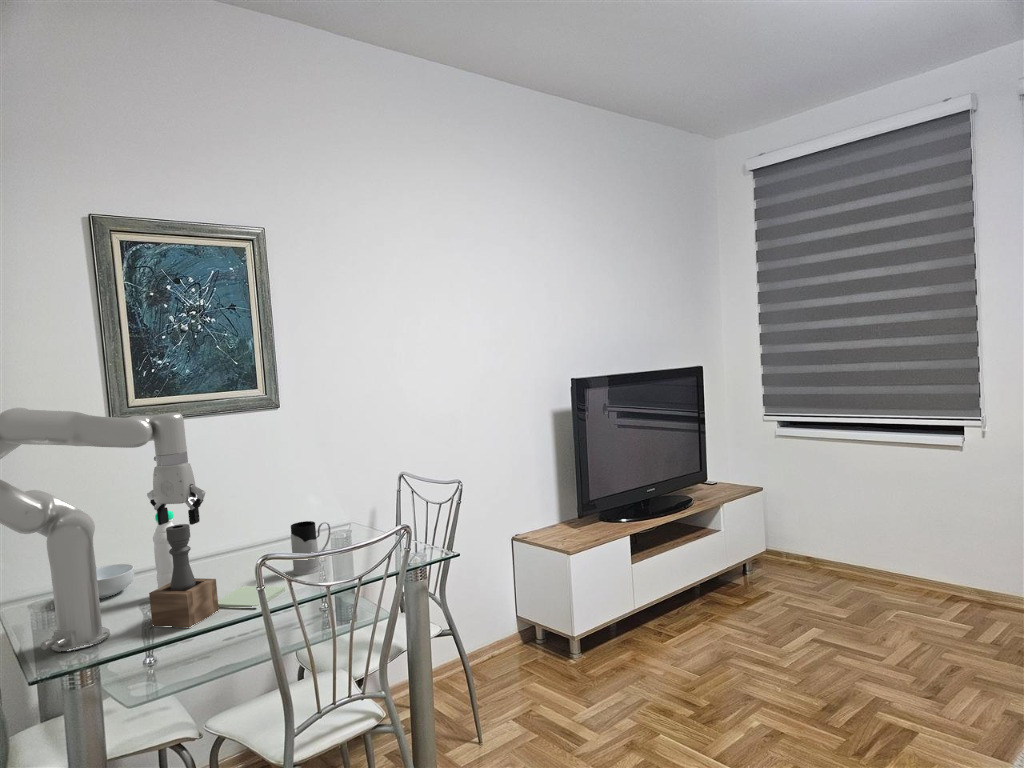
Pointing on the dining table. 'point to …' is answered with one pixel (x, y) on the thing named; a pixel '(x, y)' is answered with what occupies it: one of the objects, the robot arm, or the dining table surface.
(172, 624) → the walnut sleeve
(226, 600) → the sage mat
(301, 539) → the gray black mug
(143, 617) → the dining table surface
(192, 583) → the candle holder
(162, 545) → the water bottle
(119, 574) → the cereal bowl
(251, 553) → the dining table surface
